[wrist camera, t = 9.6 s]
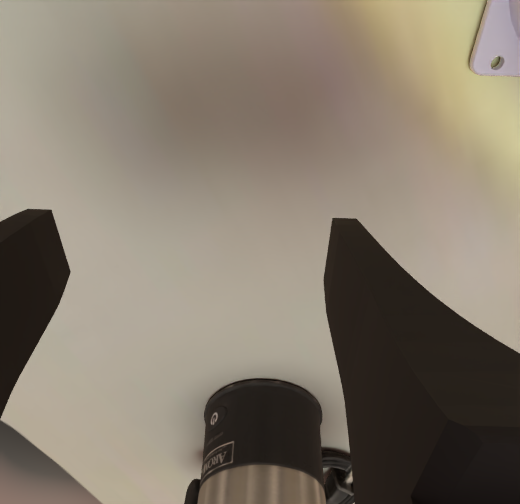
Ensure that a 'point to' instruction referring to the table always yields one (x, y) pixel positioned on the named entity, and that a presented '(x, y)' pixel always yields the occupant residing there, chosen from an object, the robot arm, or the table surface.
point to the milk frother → (267, 449)
